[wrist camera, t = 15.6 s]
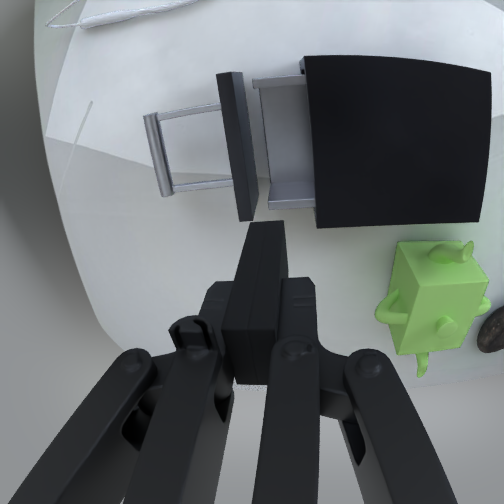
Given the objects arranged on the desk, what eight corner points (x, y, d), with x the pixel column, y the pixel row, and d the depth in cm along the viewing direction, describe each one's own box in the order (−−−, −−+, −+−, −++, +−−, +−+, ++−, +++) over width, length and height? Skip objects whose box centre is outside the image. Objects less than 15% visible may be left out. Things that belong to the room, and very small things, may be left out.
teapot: (404, 327, 41) (421, 386, 32) (344, 282, 38) (356, 348, 29) (482, 260, 33) (518, 312, 24) (433, 197, 30) (477, 247, 21)
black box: (310, 193, 32) (316, 228, 25) (299, 61, 25) (303, 56, 18) (446, 190, 30) (478, 222, 23) (449, 68, 22) (491, 72, 16)
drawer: (177, 202, 33) (158, 228, 28) (153, 89, 27) (125, 94, 22) (387, 188, 30) (405, 213, 25) (385, 66, 23) (407, 66, 18)
